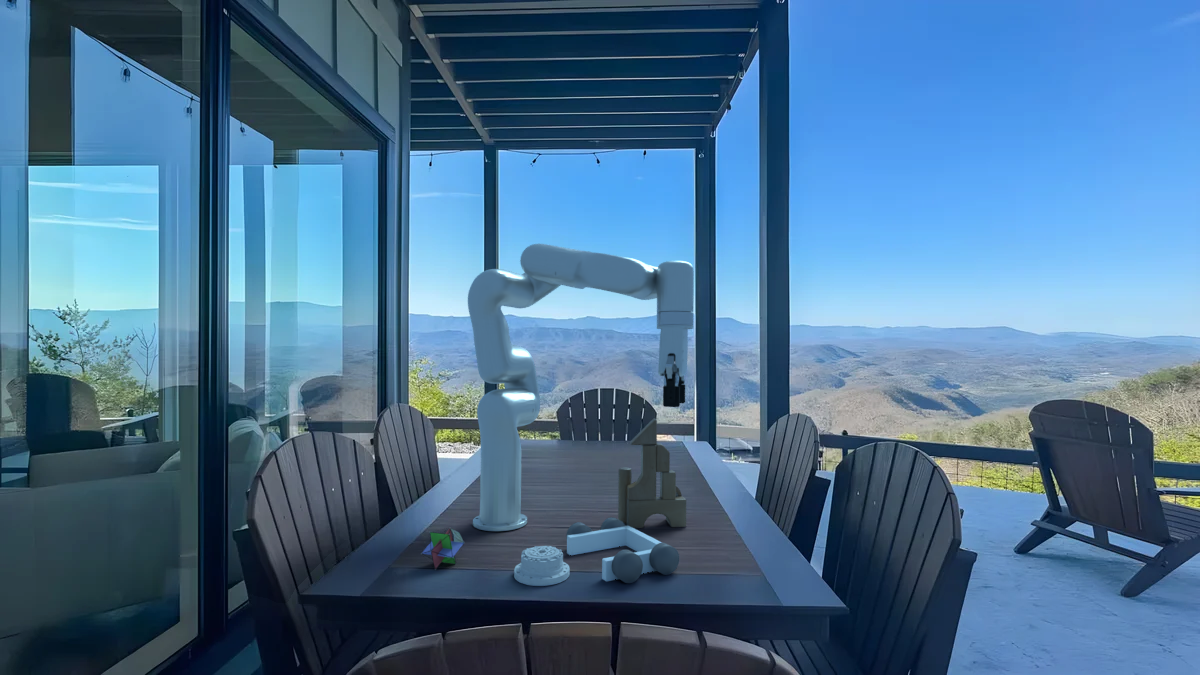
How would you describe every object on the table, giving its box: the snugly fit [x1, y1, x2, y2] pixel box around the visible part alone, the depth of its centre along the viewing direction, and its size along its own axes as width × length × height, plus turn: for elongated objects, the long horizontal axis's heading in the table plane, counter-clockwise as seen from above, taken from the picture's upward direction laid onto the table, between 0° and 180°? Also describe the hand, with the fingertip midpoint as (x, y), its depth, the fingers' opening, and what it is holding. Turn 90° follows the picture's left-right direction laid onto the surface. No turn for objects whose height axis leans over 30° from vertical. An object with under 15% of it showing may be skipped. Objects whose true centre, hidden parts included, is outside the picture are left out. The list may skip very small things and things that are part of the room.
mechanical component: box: [513, 545, 571, 587], centre depth 99 cm, size 10×4×10 cm
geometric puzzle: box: [420, 527, 465, 571], centre depth 104 cm, size 7×7×8 cm
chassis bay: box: [565, 517, 680, 584], centre depth 107 cm, size 21×14×5 cm
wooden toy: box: [617, 418, 687, 529], centre depth 132 cm, size 16×7×25 cm, turn 96°
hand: (674, 404), depth 113 cm, fingers open, 9 cm apart
